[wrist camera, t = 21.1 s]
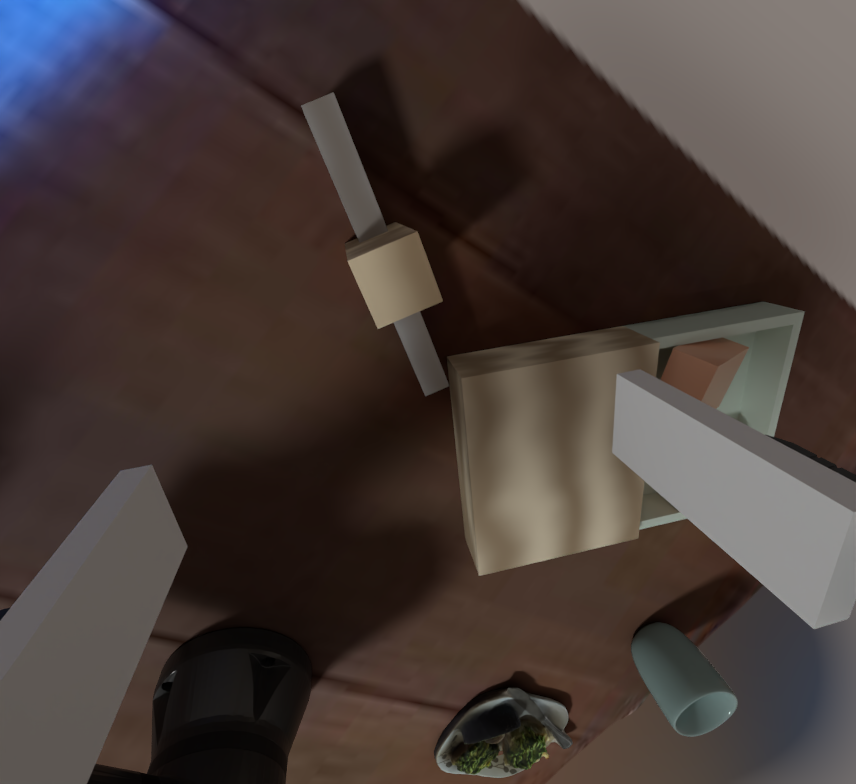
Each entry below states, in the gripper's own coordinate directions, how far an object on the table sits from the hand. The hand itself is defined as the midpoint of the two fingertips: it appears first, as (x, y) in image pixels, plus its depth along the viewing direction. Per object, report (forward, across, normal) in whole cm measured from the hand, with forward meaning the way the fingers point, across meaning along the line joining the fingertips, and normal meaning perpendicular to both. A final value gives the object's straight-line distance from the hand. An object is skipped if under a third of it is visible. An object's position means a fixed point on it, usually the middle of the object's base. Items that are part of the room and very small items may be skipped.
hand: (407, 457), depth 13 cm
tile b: (+21, -26, +10) cm, 35 cm away
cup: (+24, -29, +49) cm, 62 cm away
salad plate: (+25, -8, +60) cm, 65 cm away
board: (+24, -14, +16) cm, 32 cm away
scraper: (+24, -2, -3) cm, 24 cm away
